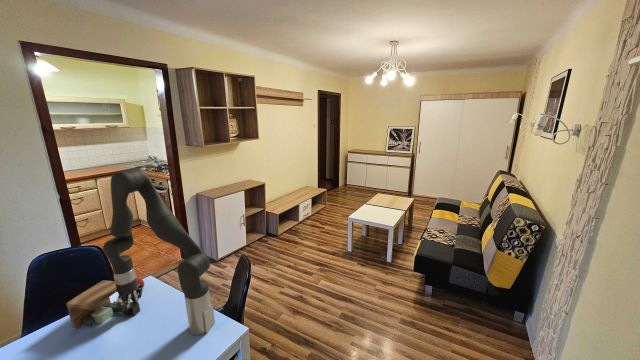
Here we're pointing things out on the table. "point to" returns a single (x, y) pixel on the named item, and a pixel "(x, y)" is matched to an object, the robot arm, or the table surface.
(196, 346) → the table surface
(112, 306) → the mallet
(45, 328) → the table surface
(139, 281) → the red rounded piece
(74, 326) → the walnut shelf
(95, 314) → the block
